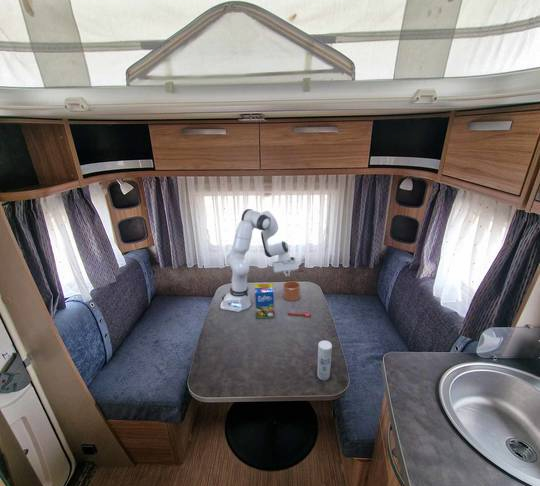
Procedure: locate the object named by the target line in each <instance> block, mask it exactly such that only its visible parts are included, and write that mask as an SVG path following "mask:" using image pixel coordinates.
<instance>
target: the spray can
mask: <svg viewBox="0 0 540 486" xmlns="http://www.w3.org/2000/svg"><path fill="white" fill-rule="evenodd" d="M317 346H318V347H317V373H316V376H317V377H318V379H320V380H321V381H327V380H329V379H330V376H331V365H332V351H333V344H332V342H330V341H329V340H326V339H325V340H320V341H319V342H318V345H317Z"/></svg>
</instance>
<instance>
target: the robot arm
mask: <svg viewBox="0 0 540 486" xmlns="http://www.w3.org/2000/svg"><path fill="white" fill-rule="evenodd" d="M254 229H257V230H259V231H260V237H261V242H262V246H263V253H264V255H265V256H266V257H267V258H272V257H274V256H278V260H277V261H273V262H272V268H273V273H274V274H279V273H280V274H281V273H283V274H284V276H285V277H286V278H289V277H290V276H291V275H290V274H291V272H294V271H295V272H297V271H298V270H299V268H300V267H299V264H298V261H297V258H296V257H293V256H290V255H289V246H288V243H287V242H286V241H284V240H279V241H276V242H272V243H269V242H268V240H269V239H270V238H272V237H273V236H275V235H276V234H277V232H278V231H279V224H278V222H277V219H276V217H275V216H274V214H273V213H272V211H269V210H263V211H261V212H260V211H258V210H256V209H255V210H254V209H252V208H247V209H245V210H243V212H242V215H241V219H240V221H239V222H238V224H237V227H236V230H235V234H234V239H233V244H232V247H231V249H230V252H229V253H228V254H227V256H226V262H227V263H226V264H227V265H228V266H229V268H230V269H231V272H232V276H231V279H230V280H231V281H230V282H231V286H230V288H229V290H228V291H229V292H228V293H226V294H225V293H224V295H223V296H221V300H222V301H221V302H220V306H219V307H220V310H226V311H231V312H237V313H240V312H242V311H244V310H248V309H249V308H250V307H251V306H252V302H251V299H250V295H249V294H250V290H249V286H248V274H249V272H250V269H251V268H250V265H249V262H248V261H247V260H246V259H245V255H246V254H247V252H248V251H249V250H250V247H251V242H252V237H253V231H254Z"/></svg>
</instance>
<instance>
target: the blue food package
mask: <svg viewBox="0 0 540 486" xmlns="http://www.w3.org/2000/svg"><path fill="white" fill-rule="evenodd" d="M274 295H275V294H274V283H256V284H254V299H255V312H256V313H255V314H256V319H272V318H275V297H274Z"/></svg>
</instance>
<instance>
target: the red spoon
mask: <svg viewBox="0 0 540 486" xmlns="http://www.w3.org/2000/svg"><path fill="white" fill-rule="evenodd" d="M287 315H288V316H302V317H303V316H304V317H305V318H310V317H311V313H310V312H305V313H294V312H288V313H287Z"/></svg>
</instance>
